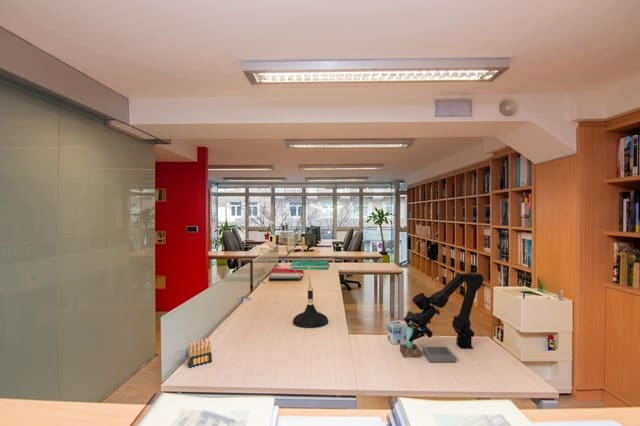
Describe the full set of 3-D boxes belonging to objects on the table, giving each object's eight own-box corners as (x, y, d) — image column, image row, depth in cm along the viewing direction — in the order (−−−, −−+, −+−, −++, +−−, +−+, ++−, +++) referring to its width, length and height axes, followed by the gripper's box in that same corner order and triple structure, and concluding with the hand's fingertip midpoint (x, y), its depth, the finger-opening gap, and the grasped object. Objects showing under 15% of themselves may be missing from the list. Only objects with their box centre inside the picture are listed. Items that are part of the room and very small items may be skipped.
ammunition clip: (210, 361, 169) (210, 336, 169) (212, 362, 167) (211, 337, 167) (188, 367, 162) (187, 341, 162) (189, 368, 161) (189, 342, 161)
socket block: (415, 350, 179) (415, 344, 179) (419, 357, 171) (419, 350, 171) (400, 351, 179) (399, 344, 179) (403, 357, 171) (403, 350, 171)
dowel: (412, 352, 176) (412, 326, 176) (414, 355, 173) (413, 328, 173) (405, 352, 176) (405, 326, 176) (407, 355, 173) (406, 328, 173)
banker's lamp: (332, 317, 237) (331, 258, 237) (329, 328, 214) (329, 263, 214) (293, 316, 239) (292, 258, 239) (287, 327, 217) (286, 263, 217)
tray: (446, 352, 176) (446, 346, 176) (455, 362, 164) (455, 356, 164) (422, 352, 176) (422, 346, 176) (429, 362, 164) (429, 356, 164)
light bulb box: (392, 345, 187) (392, 324, 187) (387, 340, 193) (386, 321, 193) (410, 342, 190) (410, 323, 190) (404, 338, 196) (404, 319, 196)
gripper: (406, 300, 185) (387, 324, 181) (426, 310, 167) (406, 336, 164) (419, 314, 187) (401, 337, 184) (441, 325, 169) (421, 350, 166)
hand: (407, 339), depth 174 cm, fingers closed on dowel, 3 cm apart
